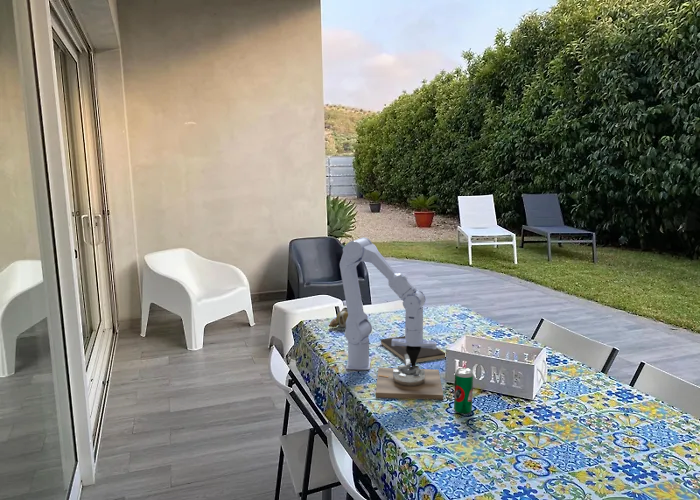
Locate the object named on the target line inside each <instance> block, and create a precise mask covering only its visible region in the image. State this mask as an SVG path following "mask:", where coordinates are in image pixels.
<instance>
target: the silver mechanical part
mask: <svg viewBox="0 0 700 500" xmlns="http://www.w3.org/2000/svg"><path fill="white" fill-rule="evenodd" d="M403 361H404V364H401V365H397V366H398V367H395V368H396V369H393V381H394V382H395V383H396V384H399V385H402V386H418V385H421V384H423V383H424V382H425V370H422V369H423V368H420V366H419V365H413V366H412V364H411V363H410V358H409V356H408V354H404V360H403Z"/></svg>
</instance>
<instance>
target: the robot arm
mask: <svg viewBox="0 0 700 500" xmlns="http://www.w3.org/2000/svg"><path fill="white" fill-rule="evenodd" d="M361 262H364V263H371V264H372V265H373V266H374V267H375V268H376V269H377V271H378V272H380V273H381V274H382V275H383V276H384V277H385V278H386V279H387V281H388V287H389V288H390V289H391V290H392V291H393V292H394V293H395V294H396V295H397V297H399V299H400V300H401V301H402V306H403V308H404V309H405V310H404V311H405V315H404V316H405V317H404V318H405V322H404V323H405V324H404V325H405V326H404V327H405V329H404V331H405V333H404V336H405V339H392V346H407V348H406V352H407V354H408V356H409V358H410V361H411V363H410V364H411V366H413V365H415V366H417V365H416V364H417V362H416V360H417V357H418V355H419V353H420V350H421V348H433V349H436V348H437V341H432V340H427V339H423V338H424V337H423V336H424V307H423V306H424V305H425V303H426V296H425V294H424V292H423V291H422V290H419V289H418V288H417V287H416V286H415V287H414V286H413V284H412V283H411V282H410V281H409V280H408V276H407V275H405V274H404V275H403V273H399V272H396V271H395V269H394V268H393V267H392V266H391V265H390V263H389V262H388V261H387V260H386V258H385V257H384V256H383V255H382V253H381V252H380V251H379V250H378V247H377V246H376V245H375V243H373V242H372V240H370V239H369V238H368V237H359V238H358V239H355V240H350V241H348V242H347V243H346V245H345V246H344V247H343V248H342V255H341V259H340V261H339V269H340V276H341V281H342V288H343V291H344V292H343V294H344V299H345V305H346V308H347V311H348V317H347V320H346V328H345V330H344V337H345V339H346V340H347V362H346V367H345V369H346V370H357V371H359V370H360V371H369V370H370V368H371V363H372V361H371V360H372V359H371V358H370V337H369V336H370V335H371V333H372V331H373V326H372V324H371V322H370V320H369V318H368V314H366V312H365V311H364V307H363V302H362V301H363V300H362V295H361V294H362V293H361V288H360V282H359V277H358V270H357V266H358V265H359V264H360V263H361Z"/></svg>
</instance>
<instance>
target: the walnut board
mask: <svg viewBox="0 0 700 500" xmlns="http://www.w3.org/2000/svg"><path fill="white" fill-rule="evenodd" d="M396 368H397V367H378V368H377V378H376V388H375V398H382V399H383V398H385V399H406V400H407V399H410V400H411V399H412V400H414V399H415V400H437V401H438V400H439V401H442V400H444V392H443V391H444V390H443V387H442V380H441V376H440V370H439V369H430V368H429V369H428V368H426V369H425V368H421V369H422V370H425V382H424V383H423V384H421V385H418V386H402V385H399V384H396V383H395V382H394V381H393V369H396Z"/></svg>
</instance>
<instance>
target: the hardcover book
mask: <svg viewBox="0 0 700 500" xmlns="http://www.w3.org/2000/svg"><path fill="white" fill-rule="evenodd" d="M392 339H405V335H404V336H395V337H388V338H381V339H379V341H380V343H381V346H384V347H385V348H386V349H387V350H389V352H391V353H393V354H394V355H396V356H397V357H398V358H400V359H401V360H402V361H404V354H407V352H406V348H407V346H392ZM445 353H446V352H445V351H443V350H441V349H440V348H438V347H436V349H433V348H421V350H420V353H419V355H418V357H417V360H416V363H422V362H429V361H435V359H436V360H440V359H446V358H445ZM410 364H411V361H410Z"/></svg>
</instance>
